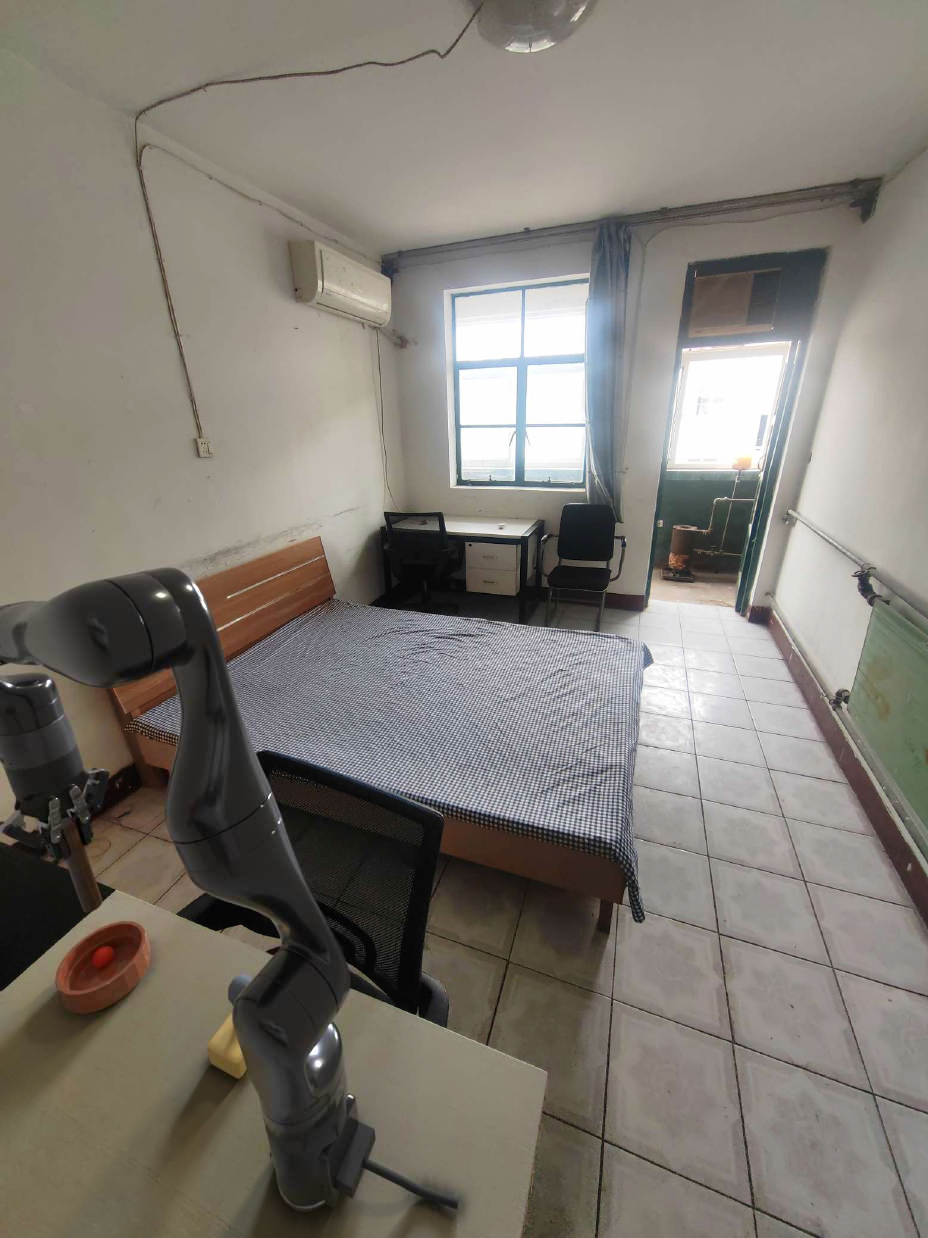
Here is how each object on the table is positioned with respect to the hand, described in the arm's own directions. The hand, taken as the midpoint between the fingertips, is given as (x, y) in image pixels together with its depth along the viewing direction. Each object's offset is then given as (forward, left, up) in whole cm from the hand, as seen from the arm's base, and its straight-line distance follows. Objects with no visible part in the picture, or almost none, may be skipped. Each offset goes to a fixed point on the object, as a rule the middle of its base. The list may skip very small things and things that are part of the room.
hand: (74, 849), depth 68 cm
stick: (0, 0, -11) cm, 11 cm away
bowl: (+3, 0, -28) cm, 29 cm away
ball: (+5, -1, -26) cm, 27 cm away
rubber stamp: (-26, -1, -29) cm, 39 cm away
